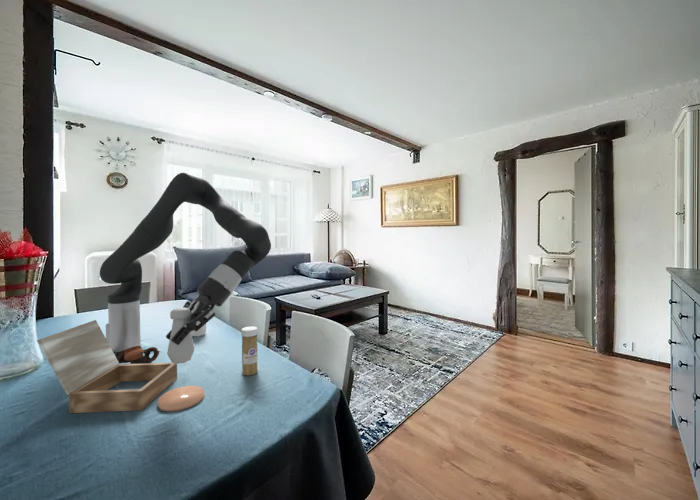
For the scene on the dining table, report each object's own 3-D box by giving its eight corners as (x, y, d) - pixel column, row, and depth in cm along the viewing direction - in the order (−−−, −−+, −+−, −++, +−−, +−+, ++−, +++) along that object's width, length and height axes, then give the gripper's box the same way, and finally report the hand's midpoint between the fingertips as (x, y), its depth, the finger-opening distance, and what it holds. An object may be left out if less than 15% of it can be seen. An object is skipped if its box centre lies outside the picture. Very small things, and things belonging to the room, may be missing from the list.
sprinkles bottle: (248, 377, 85) (247, 331, 85) (238, 373, 88) (238, 328, 88) (261, 371, 89) (260, 327, 89) (251, 367, 92) (251, 324, 91)
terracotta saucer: (148, 412, 68) (148, 407, 68) (171, 390, 78) (171, 386, 78) (193, 410, 69) (193, 406, 69) (210, 388, 79) (210, 385, 79)
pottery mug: (113, 383, 83) (105, 355, 85) (120, 384, 91) (112, 359, 92) (162, 362, 90) (153, 337, 92) (164, 365, 98) (156, 342, 99)
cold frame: (39, 414, 67) (36, 339, 67) (95, 380, 83) (92, 319, 83) (142, 410, 69) (140, 336, 68) (177, 377, 85) (175, 318, 84)
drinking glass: (210, 333, 125) (210, 310, 125) (195, 337, 119) (194, 313, 119) (201, 330, 129) (200, 308, 128) (186, 335, 123) (185, 311, 123)
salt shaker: (175, 367, 69) (174, 312, 69) (163, 362, 72) (161, 309, 72) (199, 358, 74) (198, 307, 74) (186, 354, 77) (185, 304, 77)
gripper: (198, 274, 83) (149, 327, 74) (222, 278, 74) (169, 339, 65) (218, 290, 87) (173, 342, 78) (242, 296, 78) (195, 356, 69)
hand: (172, 340), depth 72 cm, fingers closed on salt shaker, 3 cm apart
